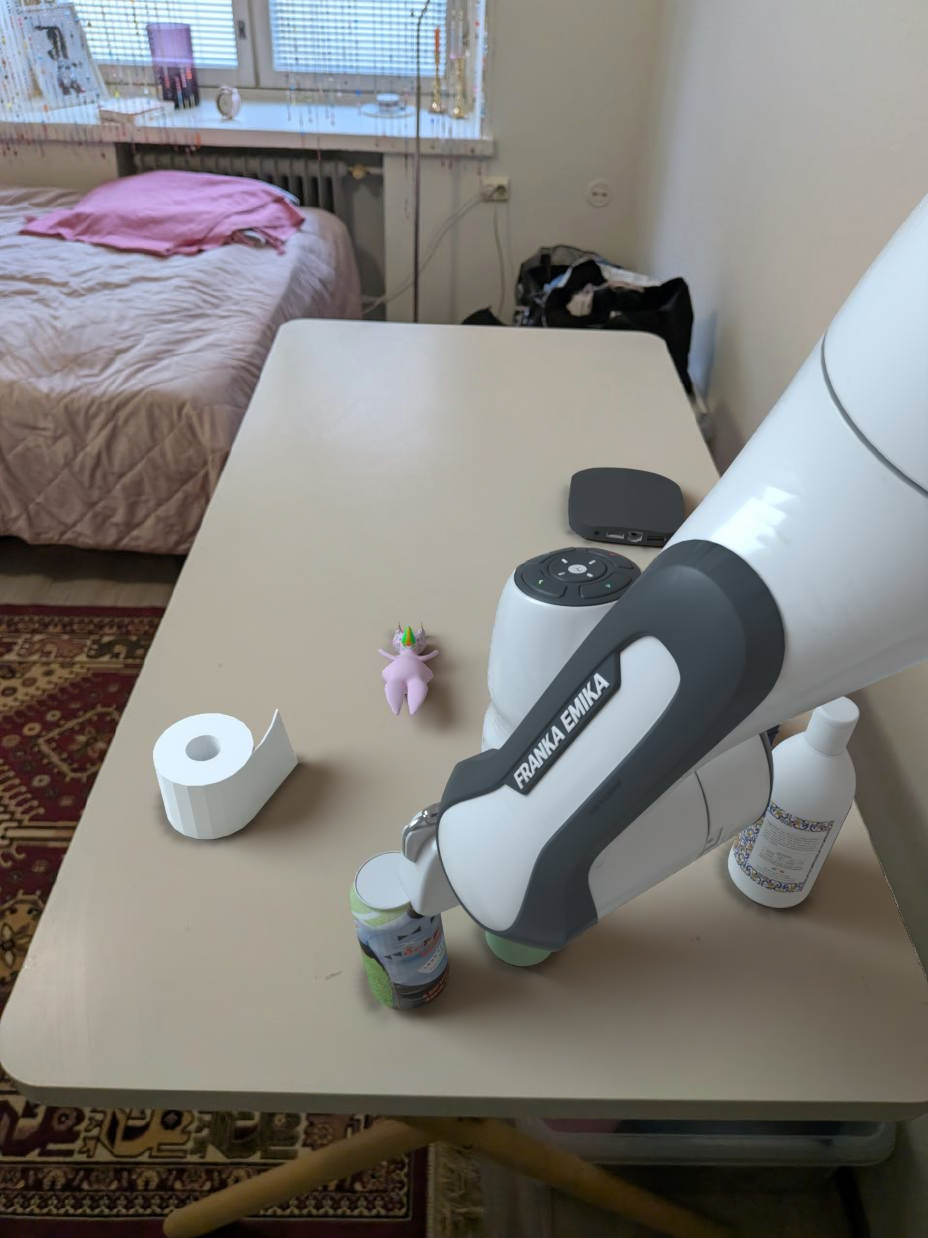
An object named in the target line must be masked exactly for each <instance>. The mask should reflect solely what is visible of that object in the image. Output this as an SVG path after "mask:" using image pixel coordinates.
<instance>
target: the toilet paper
mask: <svg viewBox="0 0 928 1238" xmlns="http://www.w3.org/2000/svg"><path fill="white" fill-rule="evenodd" d="M152 758H153V765H154V771H155V774H156V777H157V781H158V785H159V789H160V793H161V798H162V801H163V805H164V809H165V813H166V814H165V815H166V817H167V820H168V821H169V823H170V825H171V826H172V827H173V829H174V830H176V831H177V832H179V833H181V834H182V835H183V836H185V837H189V838H192V839H196V840H216V839H220V838H224V837H228V836H231V835H232V834H234V833H236V832H238V831H240V830H242V829H243V828H245V827H246V826H247V825H248V824H249V823H250V822H251V821H252V820H253V819H254V818H255V817H256V816H257V814H258V813H259V812H260V811H261V809H262V808H263V807H264V806H265V805H266V803H267V802H268V801H269V800H270V798H271V797H272V796H273V795H274V793H275V792H276V791H277V790H278V788H279V787H280V786H281V785H282V783H283V782H285V780H286V779H287V777H289V775H290V774H291V773H292V771H293V770H294V769H295V767H296V766H297V765H298V764H299V762H298V759H297V756H296V754H295V751H294V748H293V745H292V743H291V741H290V738H289V735H288V732H287V729H286V727H285V724H284V721H283V719H282V716H281V712H280V711H279V709H278V708H275V711H274V714H273V717H272V720H271V722H270V725H269V727H268V729H267V731H266V732H265V735H264V736H263V738H262V739H261V741H260V742H259V744H258V745H257V746H256V747H255V742H254V738H253V735H252V731H251V730H250V729H249V728H248V726H247V725H246V724H245V723H244V722H243V721H241V720H239V719H238V718H236V717H234V716H231V715H227V714H224V713H216V712H215V713H214V712H213V713H212V712H211V713H207V712H205V713H199V714H195V715H190V716H188V717H186V718H183V719H180V720H179V721H177V722H174V723H173V724H172V725H170V726H169V727H168V728H167V729H165V730H164V731H163V732H162V733H161V734H160V736H159V737H158V739H157V741H155V744H154V748H153V751H152Z"/></svg>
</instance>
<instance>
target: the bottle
mask: <svg viewBox="0 0 928 1238" xmlns="http://www.w3.org/2000/svg"><path fill="white" fill-rule="evenodd" d="M484 931H485V939H486V943H487V945H488V947H489V949H490V950H491V951H492V953H493V954H494V955H495V956H497V958H498V959H500V960H501V961H503V962H504V963H507V964H510V965H512V966H517V967H531V966H534V965H538V964H541V962H543V961H545V960H546V959H547V958H548V957H549V956H550V955H551V954H552V953H553V952H552V951H546V950H541V949H536V948H531V947H527V946H523V945H520V944H517V943H513V942H511V941H508V940H505V939H503V938H500V937H498V936H496V935H493V934H491V933H489V932H487V931H486V930H484Z"/></svg>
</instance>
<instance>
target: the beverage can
mask: <svg viewBox="0 0 928 1238" xmlns="http://www.w3.org/2000/svg"><path fill="white" fill-rule="evenodd" d="M400 854H401V850H389V851H384V852H380V853H378V854H375V855H373V856H371V857H370V858H368V859H367V860H366V861H365V862H363V864H362V865H360V867H359V868H358V870H357V871H356V874H355V876H354V880H353V882H352V883H351V886H350V889H349V894H348V895H349V898H348V901H349V907H350V912H351V916H352V921H353V924H354V927H355V928H354V929H355V932H356V937H357V941H358V945H359V949H360V952H361V955H362V961H363V964H364V968H365V973H366V977H367V980H368V985H369V988H370V990H371V993H372V994H373V996H374V998H375V999H376V1000H377V1001H379V1003H381V1004H382V1005H384V1006H385V1007H388V1008H390V1009H393V1010H397V1011H412V1010H413V1011H414V1010H417V1009H420V1008H422V1007H423V1008H424V1007H425V1006H427V1005H429V1004H430V1003H432V1002H433V1001H435V1000H436V999H437V998H438V997H439V996H440V995H441V993H443V991H444V989H445V987H446V986H447V983H448V980H449V976H450V963H449V958H448V951H447V945H446V944H447V943H446V939H445V933H444V926H443V920H442V919H443V918H442V913H440V914H437V915H435V916H432V917H426V916H423V915H421V914H418V913H417V912H416V911H415V910H414V909H413V907H412V906H411V902H410V900H409V898H408V897H407V895H406V893H405V892H404V890H403V888H402V886H401V884H400V882H399V878H398V868H399V860H400Z"/></svg>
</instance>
